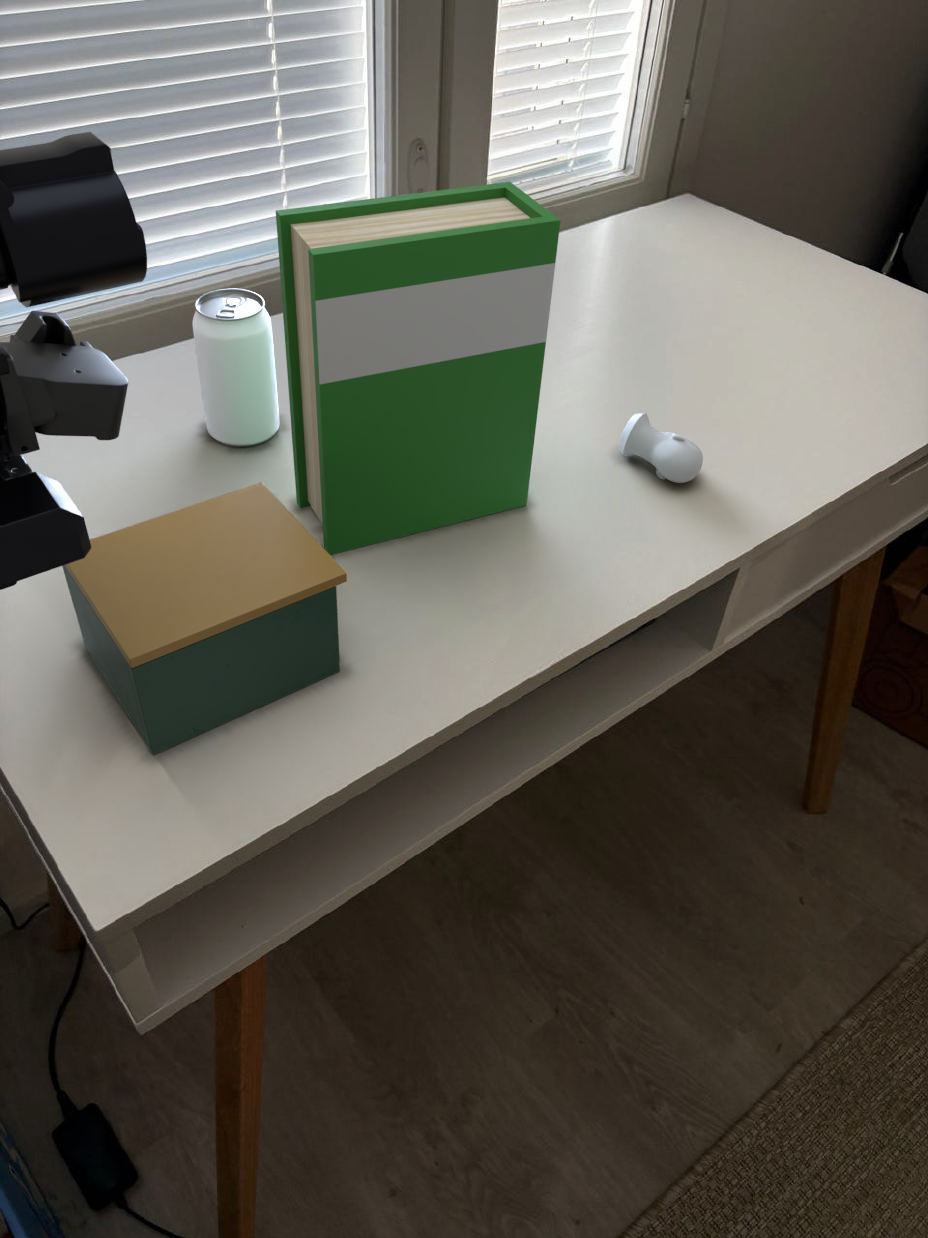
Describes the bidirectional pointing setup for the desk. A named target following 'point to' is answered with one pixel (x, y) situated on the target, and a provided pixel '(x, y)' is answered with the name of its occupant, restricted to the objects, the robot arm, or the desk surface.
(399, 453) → the hardback book
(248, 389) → the can
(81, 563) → the lid
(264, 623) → the dark green open box
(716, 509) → the desk surface
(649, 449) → the smooth white sculpture
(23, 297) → the robot arm
